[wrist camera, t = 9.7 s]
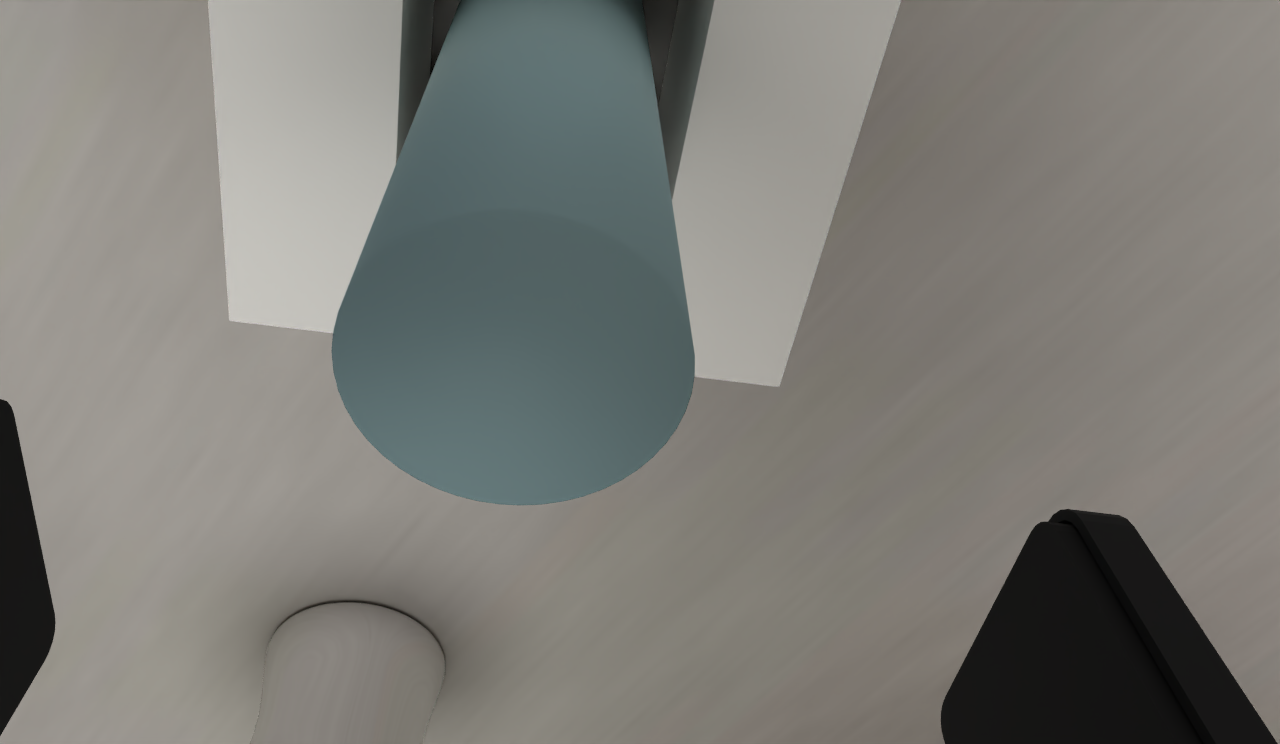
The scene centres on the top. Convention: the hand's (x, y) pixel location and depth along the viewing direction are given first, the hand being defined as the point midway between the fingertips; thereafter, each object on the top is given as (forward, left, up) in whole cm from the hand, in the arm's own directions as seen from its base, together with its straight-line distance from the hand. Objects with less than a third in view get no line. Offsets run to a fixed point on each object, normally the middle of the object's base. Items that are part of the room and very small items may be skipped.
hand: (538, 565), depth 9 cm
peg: (0, -1, -16) cm, 16 cm away
